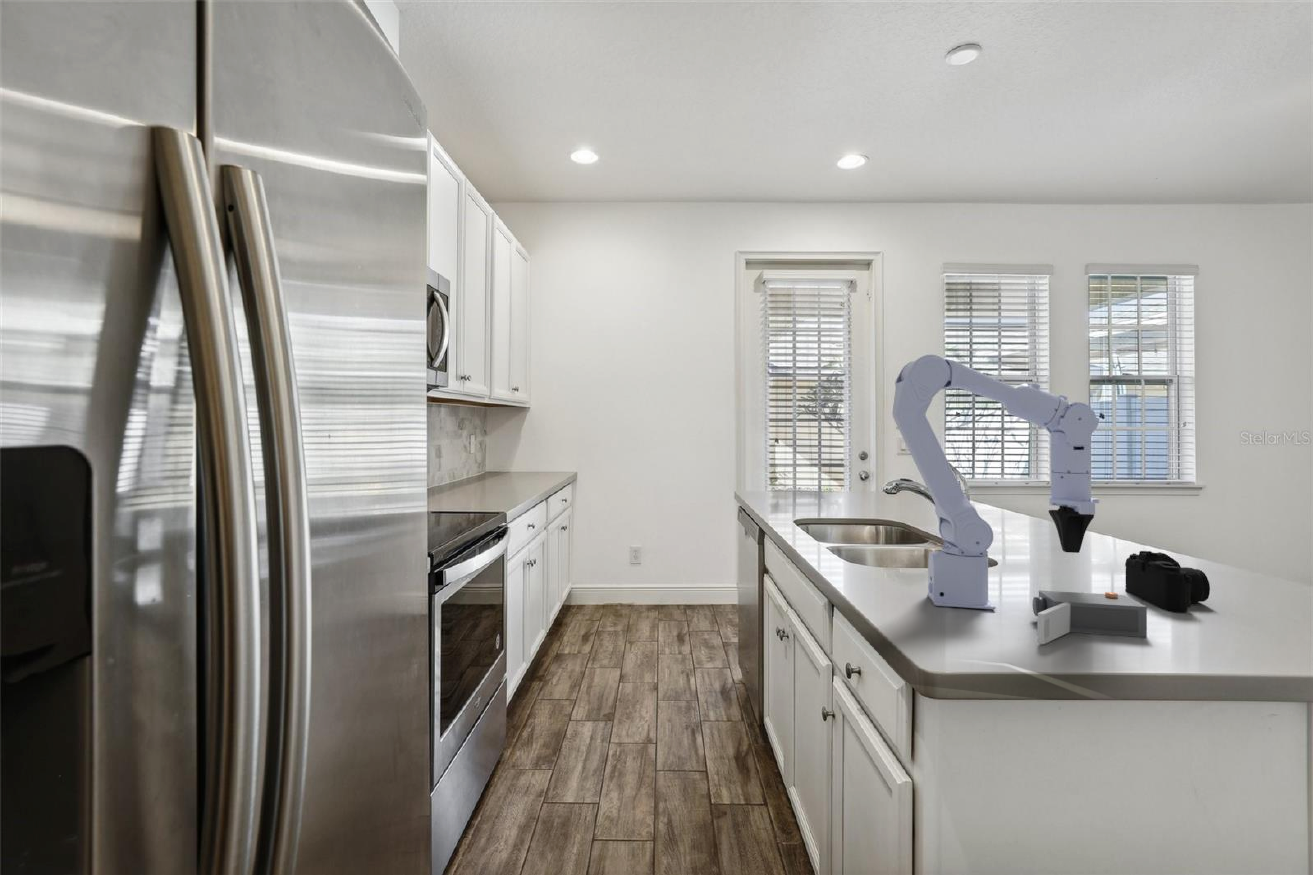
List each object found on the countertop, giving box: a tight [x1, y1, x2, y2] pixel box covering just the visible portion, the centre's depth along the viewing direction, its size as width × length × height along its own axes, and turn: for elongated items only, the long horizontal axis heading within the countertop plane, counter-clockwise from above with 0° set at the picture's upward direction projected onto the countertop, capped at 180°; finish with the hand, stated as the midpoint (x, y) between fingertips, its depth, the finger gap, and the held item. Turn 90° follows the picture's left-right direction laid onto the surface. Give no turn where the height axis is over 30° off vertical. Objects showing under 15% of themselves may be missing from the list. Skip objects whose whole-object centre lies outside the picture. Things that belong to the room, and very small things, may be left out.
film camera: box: [1124, 550, 1211, 614], centre depth 110 cm, size 15×10×9 cm, turn 168°
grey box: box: [1032, 590, 1148, 638], centre depth 95 cm, size 13×7×5 cm, turn 75°
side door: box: [1036, 602, 1071, 645], centre depth 90 cm, size 10×1×4 cm, turn 127°
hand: (1070, 551), depth 105 cm, fingers closed
